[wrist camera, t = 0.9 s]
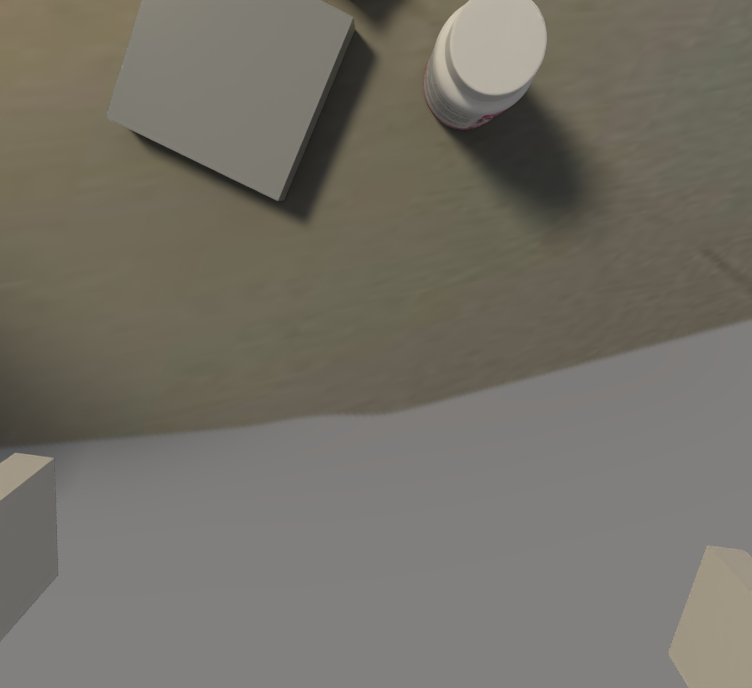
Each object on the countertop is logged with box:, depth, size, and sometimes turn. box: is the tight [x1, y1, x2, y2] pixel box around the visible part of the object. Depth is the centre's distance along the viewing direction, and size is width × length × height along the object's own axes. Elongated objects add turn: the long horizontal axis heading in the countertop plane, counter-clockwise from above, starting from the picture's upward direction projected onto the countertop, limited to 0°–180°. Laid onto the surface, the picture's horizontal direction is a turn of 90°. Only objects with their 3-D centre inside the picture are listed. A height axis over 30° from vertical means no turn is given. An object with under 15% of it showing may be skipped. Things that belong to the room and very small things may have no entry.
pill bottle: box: [423, 0, 547, 129], centre depth 25 cm, size 5×5×8 cm
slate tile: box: [106, 0, 355, 201], centre depth 28 cm, size 10×10×2 cm
